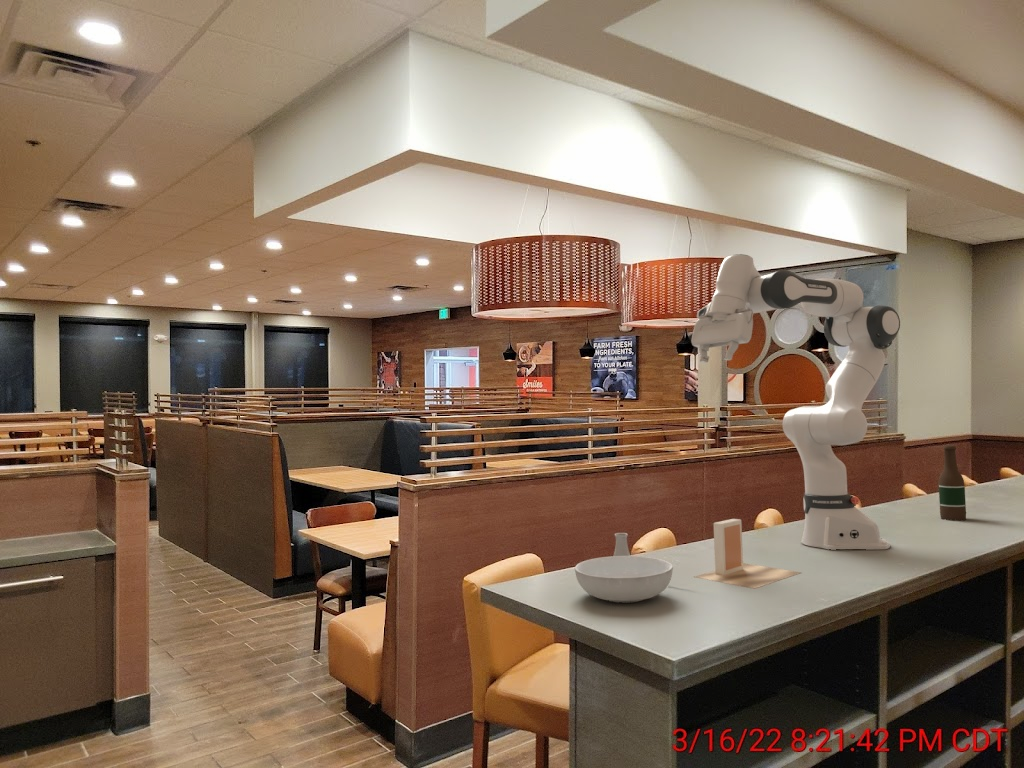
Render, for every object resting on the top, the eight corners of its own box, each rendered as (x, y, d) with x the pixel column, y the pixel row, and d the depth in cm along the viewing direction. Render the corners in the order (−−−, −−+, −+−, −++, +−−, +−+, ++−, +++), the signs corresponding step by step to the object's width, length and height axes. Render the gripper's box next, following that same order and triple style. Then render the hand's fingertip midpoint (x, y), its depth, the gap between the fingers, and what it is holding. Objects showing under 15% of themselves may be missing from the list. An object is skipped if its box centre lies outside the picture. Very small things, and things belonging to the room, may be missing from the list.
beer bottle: (944, 516, 248) (941, 444, 248) (970, 518, 242) (967, 445, 242) (935, 519, 243) (932, 446, 243) (961, 521, 237) (958, 446, 237)
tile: (715, 573, 176) (713, 522, 176) (734, 567, 181) (732, 518, 181) (724, 575, 174) (722, 524, 174) (743, 569, 179) (741, 519, 179)
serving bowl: (590, 583, 173) (589, 553, 173) (680, 588, 165) (679, 557, 165) (563, 607, 153) (562, 573, 154) (664, 614, 146) (663, 579, 146)
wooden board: (693, 578, 173) (693, 576, 173) (742, 564, 186) (741, 562, 186) (754, 590, 161) (754, 588, 161) (801, 574, 174) (801, 572, 174)
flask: (637, 579, 175) (635, 536, 175) (606, 578, 177) (605, 536, 177) (638, 572, 182) (636, 531, 182) (608, 571, 184) (607, 531, 184)
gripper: (763, 310, 188) (751, 362, 186) (711, 320, 207) (700, 366, 205) (744, 302, 186) (732, 354, 184) (693, 312, 205) (682, 359, 202)
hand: (715, 360), depth 194 cm, fingers open, 8 cm apart
